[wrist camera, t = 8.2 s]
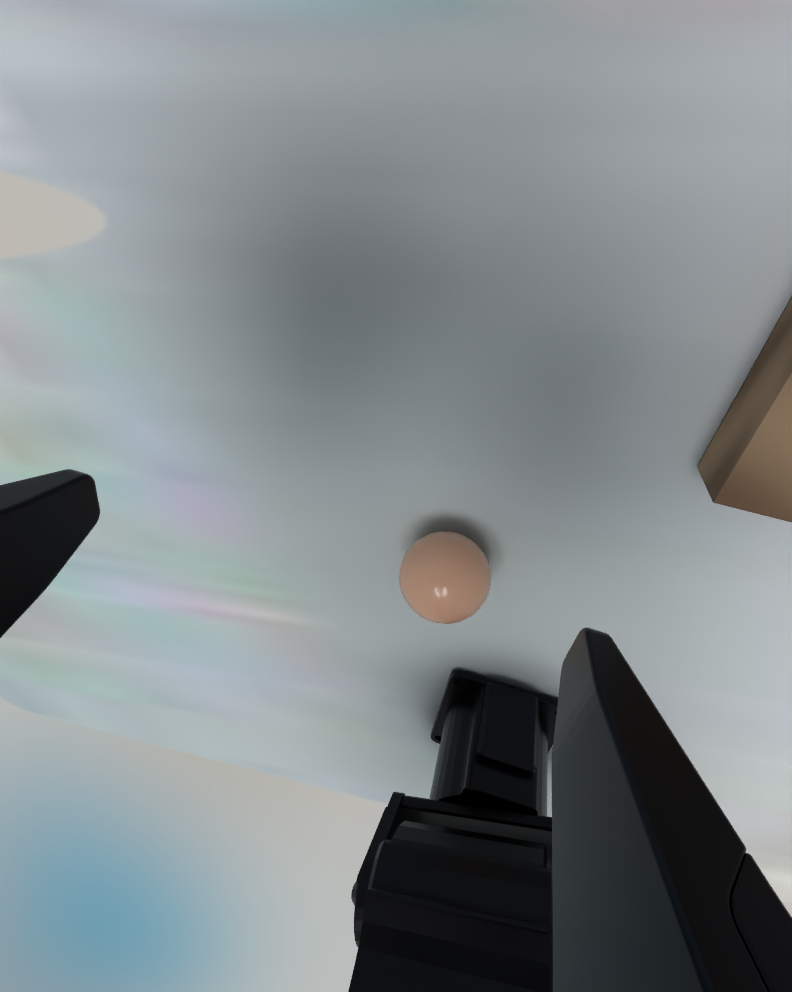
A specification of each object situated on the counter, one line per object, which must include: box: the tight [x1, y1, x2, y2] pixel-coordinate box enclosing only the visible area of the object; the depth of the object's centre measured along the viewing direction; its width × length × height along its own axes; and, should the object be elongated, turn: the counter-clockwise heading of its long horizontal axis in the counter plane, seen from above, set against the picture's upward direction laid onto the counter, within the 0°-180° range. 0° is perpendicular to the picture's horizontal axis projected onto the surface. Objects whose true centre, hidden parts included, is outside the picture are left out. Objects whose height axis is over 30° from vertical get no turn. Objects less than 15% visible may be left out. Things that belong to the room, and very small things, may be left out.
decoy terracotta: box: [399, 531, 491, 624], centre depth 23 cm, size 4×4×4 cm
